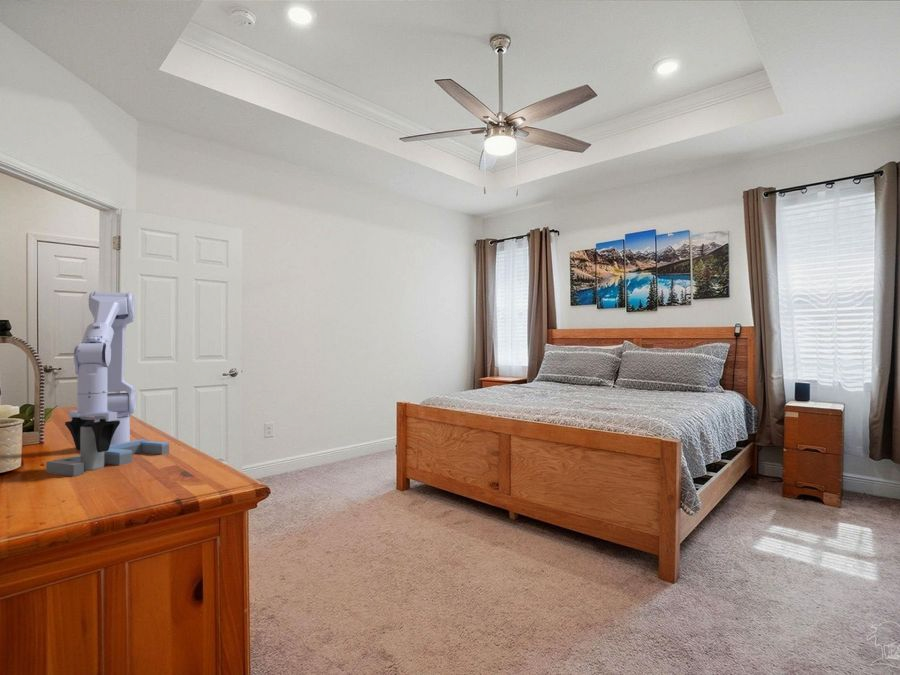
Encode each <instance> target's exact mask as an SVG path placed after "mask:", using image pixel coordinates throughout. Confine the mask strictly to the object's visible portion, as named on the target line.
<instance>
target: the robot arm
mask: <svg viewBox="0 0 900 675" xmlns="http://www.w3.org/2000/svg"><path fill="white" fill-rule="evenodd" d="M135 302H136V301H135V296H134V294H133V293H132V292H130V291H129V292H117V291H115V292H114V291H113V292H112V291H111V292H108V291H107V292H106V291H95V290H93V291H91V292H90V293H89V295H88V309H89V311H90V314H91V315H92V317H93V318H94V320H93V322H92V323H90V324H88V325H87V327H86V329H85V331H84V334H83V338H82V341H81V343H79V345H75V346H74V349H73V362H74V368H75V369H74V370H75V375H77V378H76V379H77V380H76V382H77V386H76V387H77V393H76V394H77V396H76V397H77V398H76V400H77V404H76V405H77V407H76V408H77V410H69V411H68V420H71V421H65V422H64V425H65V426H66V427H67V429H68V431H69V432H70V434H71V436H72V437H71V438H72V440H73V442H74V443H73V444H74V446H75V448H76V451H80V427H81V426H83V425H88V424H90V425H91V427H92V429H93V432H94V435H95V440H96V448H97V452H104V451H108V450H109V447H110V445H114V444H119V443H124V442H130V441H131V420H130V419H131V415H133V414H134V413H135V412H136V409H137V394H136V388H135V386H133V385H132V384H130V383H129V382H127V381H125V360H126V359H125V356H126V354H125V349H126V343H125V342H126V329H127V326H128V324H131V323H133V322H134V319H135V312H136V310H135V309H136V308H135V307H136V306H135V304H136V303H135ZM112 392H113V393H112Z"/></svg>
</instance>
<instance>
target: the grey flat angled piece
mask: <svg viewBox="0 0 900 675" xmlns="http://www.w3.org/2000/svg"><path fill="white" fill-rule="evenodd" d="M121 449H124V450H132V453H128V454H123V455H112V454H104V464H105V465H106V464H107V465H116V466H123V465H126V464H131V463H133V455H135V454H139V453H144V454H152V455H161V456H162V455H167V454H170V444H169V445H165V446H154V445H143V444H141V445H136V446H131V447H126V448H121ZM45 465H46V466H45V467H46V468H45V472H46V473H48V474H55V475H62V476H63V475H64V476H68V477H69V476H70V477H77V476H81V475H84V472H85V471H84V463H80V454H77V455H75V456H74V455H73V456H68V457H64V458H59V459H53V460H48V461H46V463H45Z"/></svg>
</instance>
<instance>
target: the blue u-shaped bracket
mask: <svg viewBox="0 0 900 675" xmlns="http://www.w3.org/2000/svg"><path fill="white" fill-rule="evenodd" d="M141 444H143V445H154V446H165V445H169V446H170V442H167V441H157V440H155V441H154V440H147V439H143V438H141V439H135V440H130V442H124V443H119V444H114V445H110V447H109V450H108V451H104V454H112V455H123V454H128V453H132V450H124V449H121V448H126V447H131V446H136V445H141Z"/></svg>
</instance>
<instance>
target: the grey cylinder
mask: <svg viewBox="0 0 900 675" xmlns="http://www.w3.org/2000/svg"><path fill="white" fill-rule="evenodd" d="M79 451H80V454H79V455H80V463H84V472H87V471H89V472H90V471H94V470H95V471H96V470H100V469H104V467H105V463H104V452H97V448H96V440H95V435H94V432H93V429H92V427H91V425H90V424H88V425H83V426H81V427H80V450H79Z"/></svg>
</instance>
